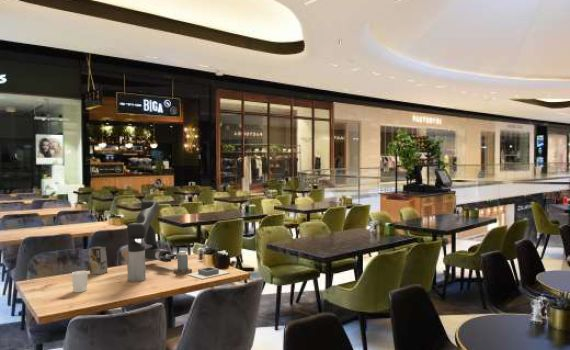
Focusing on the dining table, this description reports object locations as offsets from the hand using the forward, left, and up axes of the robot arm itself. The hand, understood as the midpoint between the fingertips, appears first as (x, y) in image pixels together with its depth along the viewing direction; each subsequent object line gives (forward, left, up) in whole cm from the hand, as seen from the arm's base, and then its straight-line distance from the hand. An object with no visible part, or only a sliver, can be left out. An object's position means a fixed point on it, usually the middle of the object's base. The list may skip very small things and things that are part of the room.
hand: (176, 258), depth 295 cm
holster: (0, -7, -8) cm, 10 cm away
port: (+8, -23, -8) cm, 25 cm away
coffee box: (-36, +33, -8) cm, 49 cm away
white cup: (-60, -1, -8) cm, 61 cm away
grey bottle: (0, -7, -8) cm, 10 cm away
